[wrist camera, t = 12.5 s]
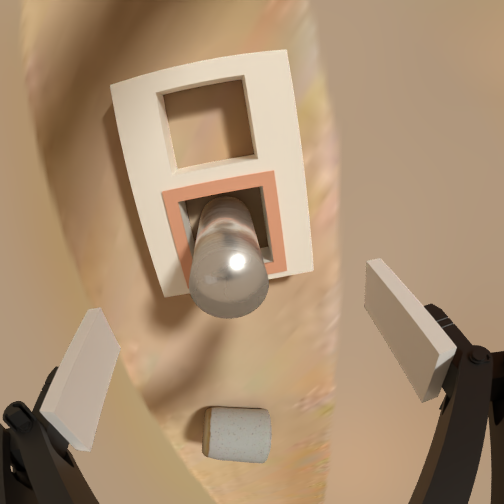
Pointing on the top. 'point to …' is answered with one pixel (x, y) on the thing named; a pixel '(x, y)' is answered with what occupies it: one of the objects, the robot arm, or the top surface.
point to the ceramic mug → (237, 434)
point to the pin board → (216, 163)
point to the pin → (227, 261)
